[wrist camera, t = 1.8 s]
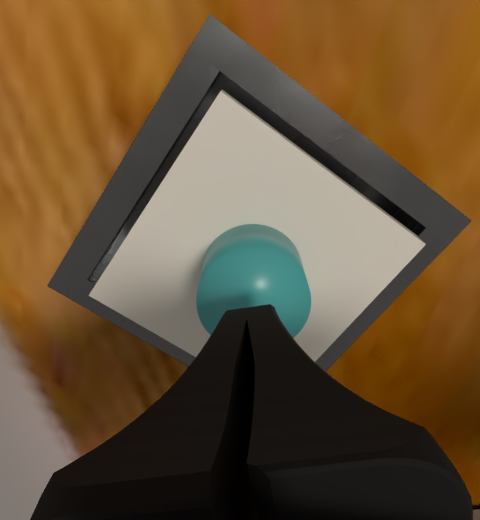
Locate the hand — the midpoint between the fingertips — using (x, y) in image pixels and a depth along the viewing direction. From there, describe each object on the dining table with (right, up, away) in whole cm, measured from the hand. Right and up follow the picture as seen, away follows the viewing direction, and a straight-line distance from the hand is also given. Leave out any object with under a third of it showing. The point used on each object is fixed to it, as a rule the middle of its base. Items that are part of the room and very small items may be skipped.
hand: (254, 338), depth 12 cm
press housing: (0, +4, +9) cm, 10 cm away
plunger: (0, +2, +5) cm, 5 cm away
